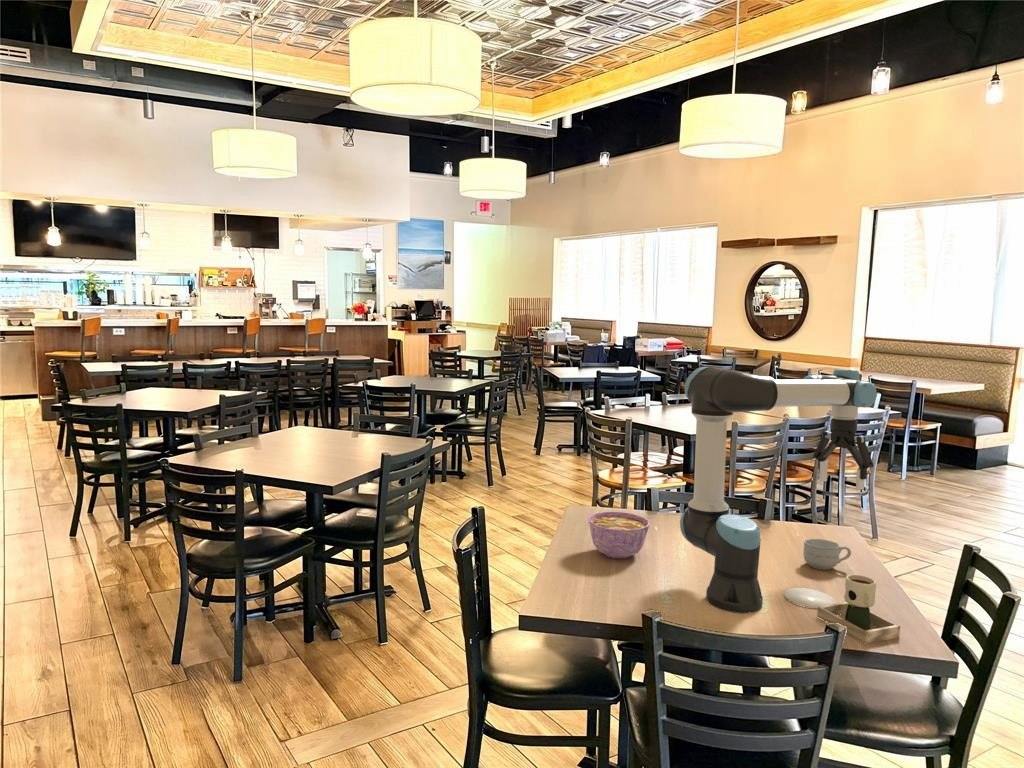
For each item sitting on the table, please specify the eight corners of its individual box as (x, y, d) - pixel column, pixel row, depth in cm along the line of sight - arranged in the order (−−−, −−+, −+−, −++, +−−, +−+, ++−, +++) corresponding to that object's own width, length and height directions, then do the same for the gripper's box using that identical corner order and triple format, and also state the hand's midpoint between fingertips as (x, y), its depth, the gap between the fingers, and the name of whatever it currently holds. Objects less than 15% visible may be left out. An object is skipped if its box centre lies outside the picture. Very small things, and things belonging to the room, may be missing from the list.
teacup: (800, 568, 225) (802, 544, 224) (803, 558, 234) (805, 534, 233) (848, 577, 218) (850, 552, 217) (850, 566, 228) (852, 542, 227)
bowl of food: (660, 561, 228) (661, 526, 226) (605, 568, 220) (607, 532, 219) (627, 541, 246) (629, 509, 245) (576, 547, 239) (577, 514, 237)
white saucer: (807, 611, 193) (807, 609, 193) (774, 592, 205) (774, 590, 205) (844, 605, 197) (844, 603, 197) (809, 587, 209) (809, 585, 209)
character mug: (833, 617, 189) (837, 571, 188) (860, 618, 189) (864, 571, 188) (853, 636, 179) (857, 587, 177) (881, 637, 179) (885, 588, 177)
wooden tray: (864, 644, 175) (865, 632, 174) (817, 617, 189) (817, 606, 189) (899, 637, 179) (900, 626, 178) (850, 611, 193) (850, 601, 193)
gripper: (888, 422, 211) (885, 492, 213) (819, 413, 234) (816, 477, 235) (871, 423, 208) (868, 494, 209) (803, 414, 230) (800, 478, 232)
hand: (840, 485), depth 222 cm, fingers open, 13 cm apart
